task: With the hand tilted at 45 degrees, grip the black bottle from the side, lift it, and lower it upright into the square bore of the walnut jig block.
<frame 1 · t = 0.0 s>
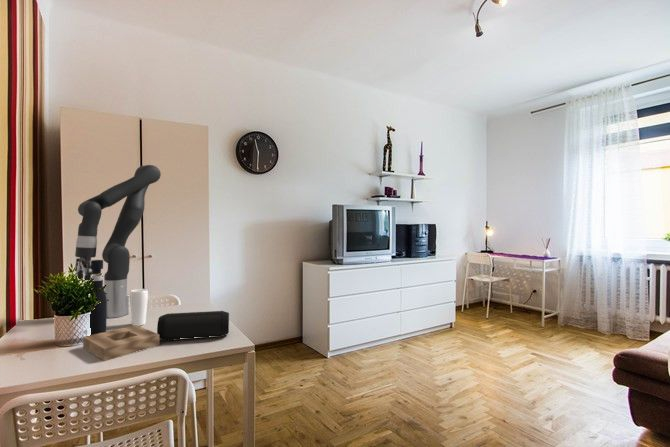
hand: (83, 283, 156), 17 cm above the table, tool pointing down, fingers open, 8 cm apart
drinking glass: (138, 325, 153), on the table
portable speaker: (194, 338, 139), on the table
black bottle: (96, 338, 136), on the table
walnut jig: (121, 346, 128), on the table
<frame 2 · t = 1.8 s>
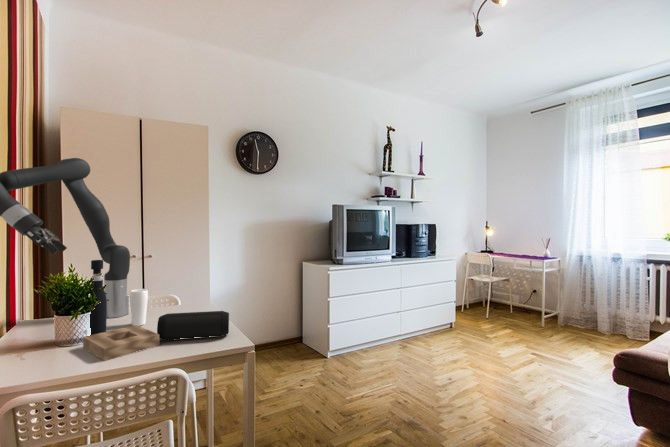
hand: (60, 251, 131), 34 cm above the table, tool tilted 45°, fingers open, 8 cm apart
nothing on the table moved.
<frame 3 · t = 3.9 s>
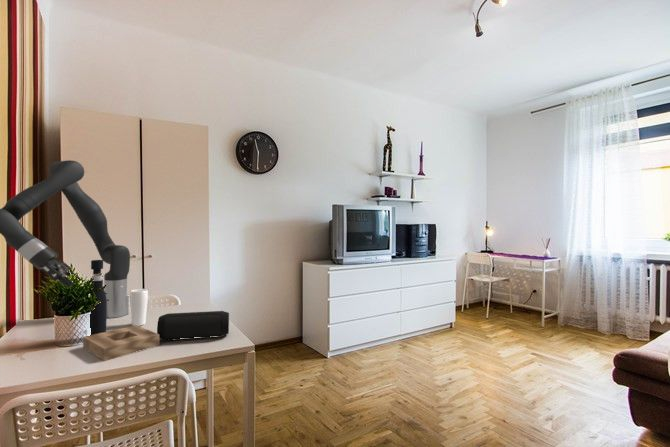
hand: (75, 283, 133), 21 cm above the table, tool tilted 45°, fingers open, 8 cm apart
nothing on the table moved.
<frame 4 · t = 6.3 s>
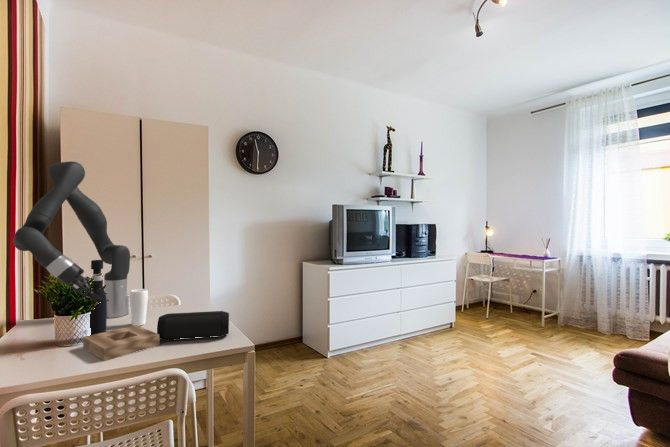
hand: (101, 299, 136), 15 cm above the table, tool tilted 45°, fingers closed on black bottle, 6 cm apart
black bottle: (96, 338, 136), on the table, touching gripper
everything else where it was.
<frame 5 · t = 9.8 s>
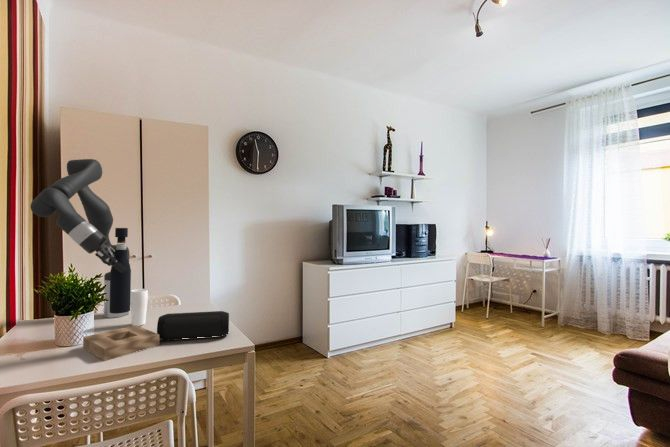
hand: (126, 269, 128), 28 cm above the table, tool tilted 45°, fingers closed on black bottle, 6 cm apart
black bottle: (119, 311, 127), point 13 cm above the table, touching gripper
everything else where it was.
when the fingers open (16 cm above the table, at t = 13.3 s): black bottle stays where it is, resting in walnut jig.
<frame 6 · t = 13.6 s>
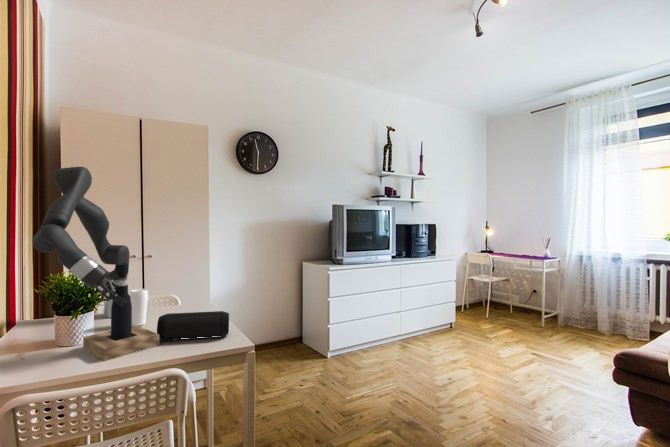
hand: (126, 302, 128), 16 cm above the table, tool tilted 45°, fingers open, 8 cm apart
black bottle: (121, 347, 128), resting in walnut jig
everything else where it was.
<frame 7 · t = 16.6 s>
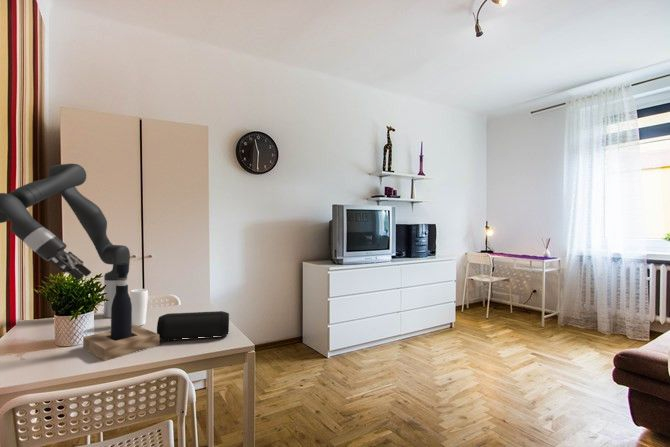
hand: (85, 276, 123), 26 cm above the table, tool tilted 45°, fingers open, 8 cm apart
nothing on the table moved.
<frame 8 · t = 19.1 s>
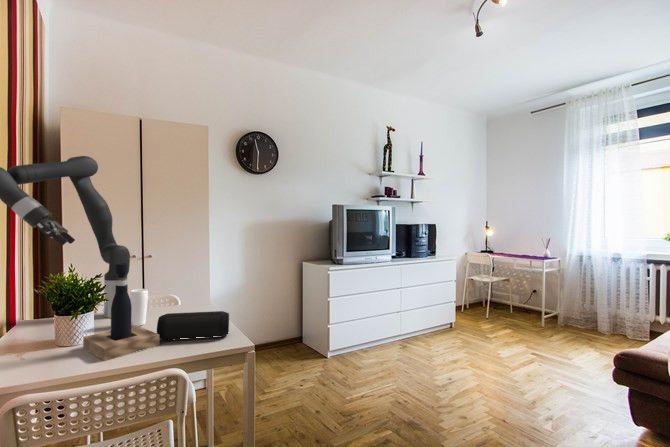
hand: (69, 242, 134), 37 cm above the table, tool tilted 45°, fingers open, 8 cm apart
nothing on the table moved.
at the end: black bottle 0.3 cm off-centre on the walnut jig, point 0.0 cm above the walnut jig's base; black bottle tilted 0°; the gripper is holding nothing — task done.
